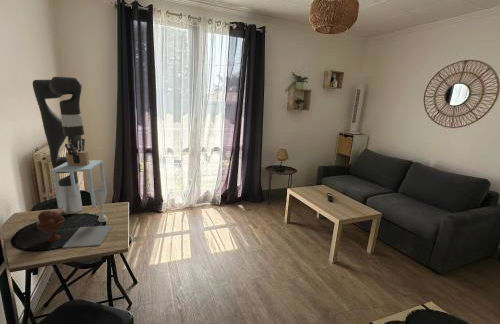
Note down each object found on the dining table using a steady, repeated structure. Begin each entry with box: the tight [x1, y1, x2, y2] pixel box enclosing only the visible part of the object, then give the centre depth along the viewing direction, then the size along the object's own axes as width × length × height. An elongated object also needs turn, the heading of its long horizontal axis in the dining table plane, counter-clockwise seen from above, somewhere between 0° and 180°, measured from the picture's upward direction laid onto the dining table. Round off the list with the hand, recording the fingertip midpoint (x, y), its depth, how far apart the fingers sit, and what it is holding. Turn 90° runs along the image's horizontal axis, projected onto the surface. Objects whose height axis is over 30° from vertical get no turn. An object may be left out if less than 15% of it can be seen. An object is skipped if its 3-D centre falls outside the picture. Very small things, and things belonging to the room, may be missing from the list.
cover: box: [50, 150, 108, 209], centre depth 118 cm, size 15×15×24 cm
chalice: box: [94, 187, 109, 223], centre depth 139 cm, size 7×7×18 cm
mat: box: [61, 224, 114, 249], centre depth 126 cm, size 18×16×1 cm
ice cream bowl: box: [35, 210, 66, 243], centre depth 121 cm, size 11×11×15 cm
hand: (78, 162), depth 116 cm, fingers closed on cover, 2 cm apart
